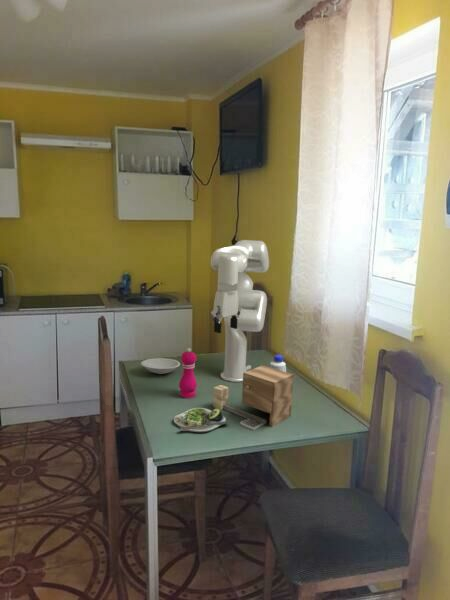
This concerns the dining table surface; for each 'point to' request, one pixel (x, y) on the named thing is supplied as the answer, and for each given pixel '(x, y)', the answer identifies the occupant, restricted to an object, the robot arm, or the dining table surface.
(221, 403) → the beige mallet
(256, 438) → the dining table surface
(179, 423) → the salad plate
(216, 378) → the dining table surface
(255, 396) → the wooden box
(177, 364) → the dish
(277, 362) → the bottle
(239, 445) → the dining table surface
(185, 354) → the pepper mill
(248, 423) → the gray rectangular block
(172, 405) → the dining table surface
